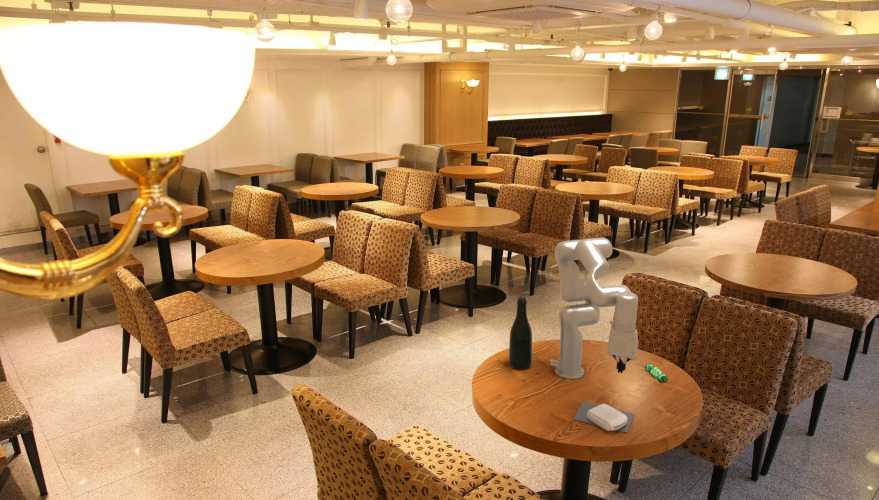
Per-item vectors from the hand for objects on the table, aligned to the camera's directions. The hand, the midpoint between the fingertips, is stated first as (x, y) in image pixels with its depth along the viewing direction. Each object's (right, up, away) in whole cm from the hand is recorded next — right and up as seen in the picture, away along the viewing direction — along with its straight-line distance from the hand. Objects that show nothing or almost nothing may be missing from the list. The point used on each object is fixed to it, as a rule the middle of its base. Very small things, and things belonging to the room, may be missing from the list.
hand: (620, 371), depth 218 cm
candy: (+27, -10, +38) cm, 48 cm away
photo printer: (-7, -17, +8) cm, 20 cm away
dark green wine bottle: (-30, -8, +50) cm, 59 cm away
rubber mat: (-4, -19, +8) cm, 21 cm away
